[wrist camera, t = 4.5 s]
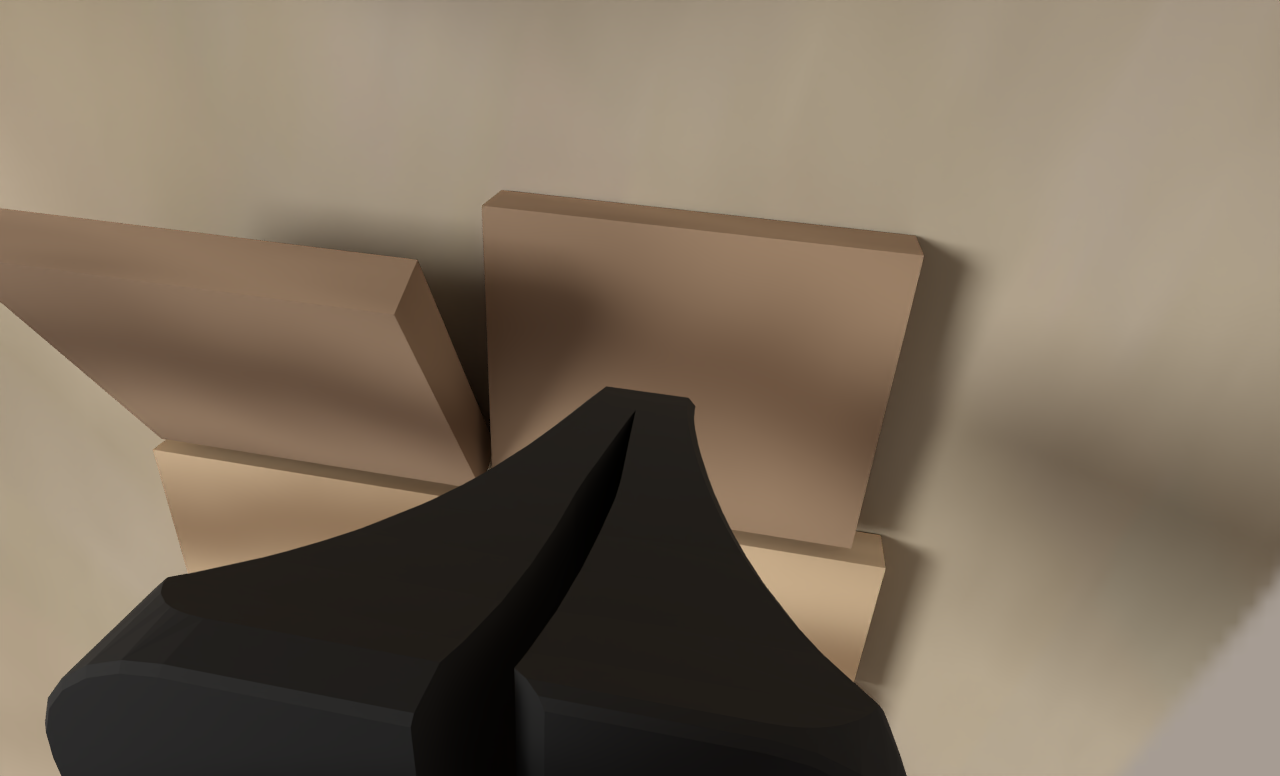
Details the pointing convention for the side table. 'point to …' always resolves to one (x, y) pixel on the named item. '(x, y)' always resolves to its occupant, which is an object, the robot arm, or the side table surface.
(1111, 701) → the side table surface
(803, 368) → the plank
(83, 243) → the plank
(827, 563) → the laid oak row
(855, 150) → the side table surface
